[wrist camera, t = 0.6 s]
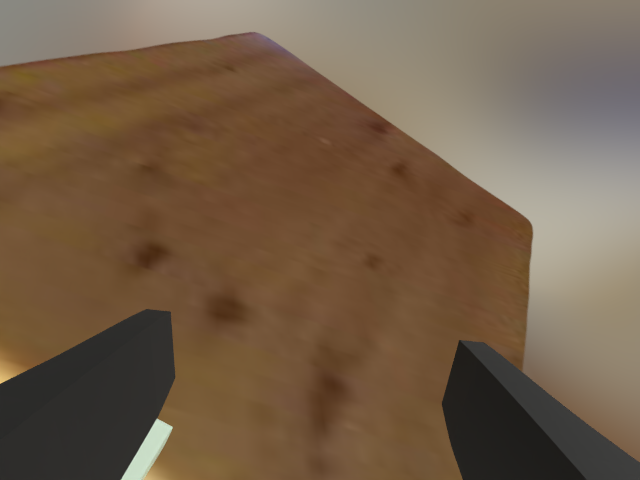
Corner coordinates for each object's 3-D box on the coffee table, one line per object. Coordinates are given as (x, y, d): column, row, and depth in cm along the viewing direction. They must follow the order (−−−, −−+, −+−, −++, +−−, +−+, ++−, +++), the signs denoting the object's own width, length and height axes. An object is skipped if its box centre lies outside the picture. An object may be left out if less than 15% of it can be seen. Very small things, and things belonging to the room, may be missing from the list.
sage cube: (107, 538, 18) (105, 535, 15) (26, 496, 18) (7, 483, 14) (164, 445, 21) (172, 427, 18) (97, 409, 21) (93, 384, 18)
